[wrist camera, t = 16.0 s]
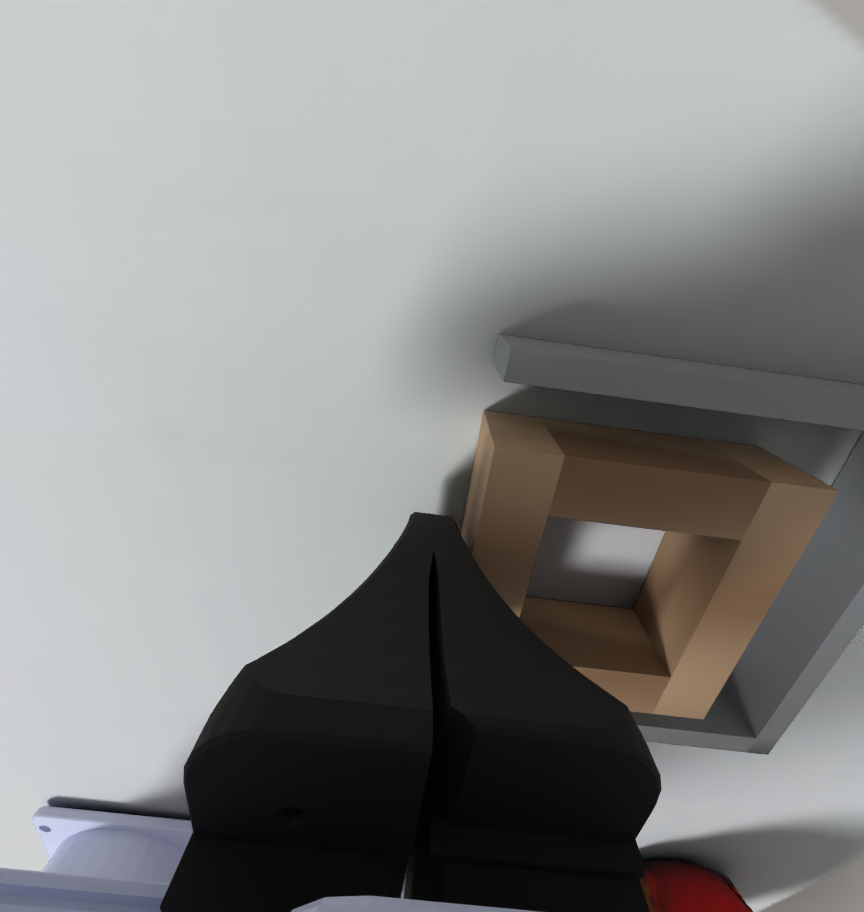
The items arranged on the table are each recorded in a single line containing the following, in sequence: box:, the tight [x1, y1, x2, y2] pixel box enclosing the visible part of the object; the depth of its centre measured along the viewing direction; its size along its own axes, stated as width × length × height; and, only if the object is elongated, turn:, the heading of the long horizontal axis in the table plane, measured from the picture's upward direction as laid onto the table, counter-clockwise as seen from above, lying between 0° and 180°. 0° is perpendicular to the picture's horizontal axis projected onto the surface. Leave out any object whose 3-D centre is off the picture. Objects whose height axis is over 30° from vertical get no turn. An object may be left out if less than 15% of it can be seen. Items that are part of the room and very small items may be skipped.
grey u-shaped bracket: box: [493, 334, 864, 755], centre depth 12 cm, size 11×11×2 cm
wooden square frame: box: [461, 411, 839, 719], centre depth 11 cm, size 8×8×2 cm
